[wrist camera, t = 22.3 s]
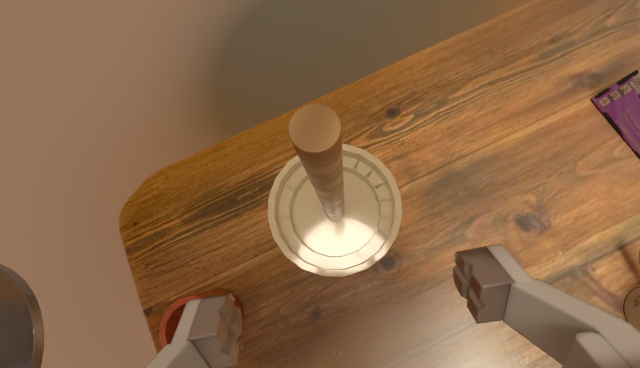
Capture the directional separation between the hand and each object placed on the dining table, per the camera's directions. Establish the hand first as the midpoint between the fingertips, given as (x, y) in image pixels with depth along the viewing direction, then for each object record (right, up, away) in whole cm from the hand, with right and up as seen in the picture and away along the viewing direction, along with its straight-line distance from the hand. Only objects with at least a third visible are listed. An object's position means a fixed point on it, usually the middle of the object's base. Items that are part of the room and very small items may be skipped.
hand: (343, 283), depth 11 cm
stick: (+1, 0, +28) cm, 28 cm away
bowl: (+1, 0, +28) cm, 28 cm away
